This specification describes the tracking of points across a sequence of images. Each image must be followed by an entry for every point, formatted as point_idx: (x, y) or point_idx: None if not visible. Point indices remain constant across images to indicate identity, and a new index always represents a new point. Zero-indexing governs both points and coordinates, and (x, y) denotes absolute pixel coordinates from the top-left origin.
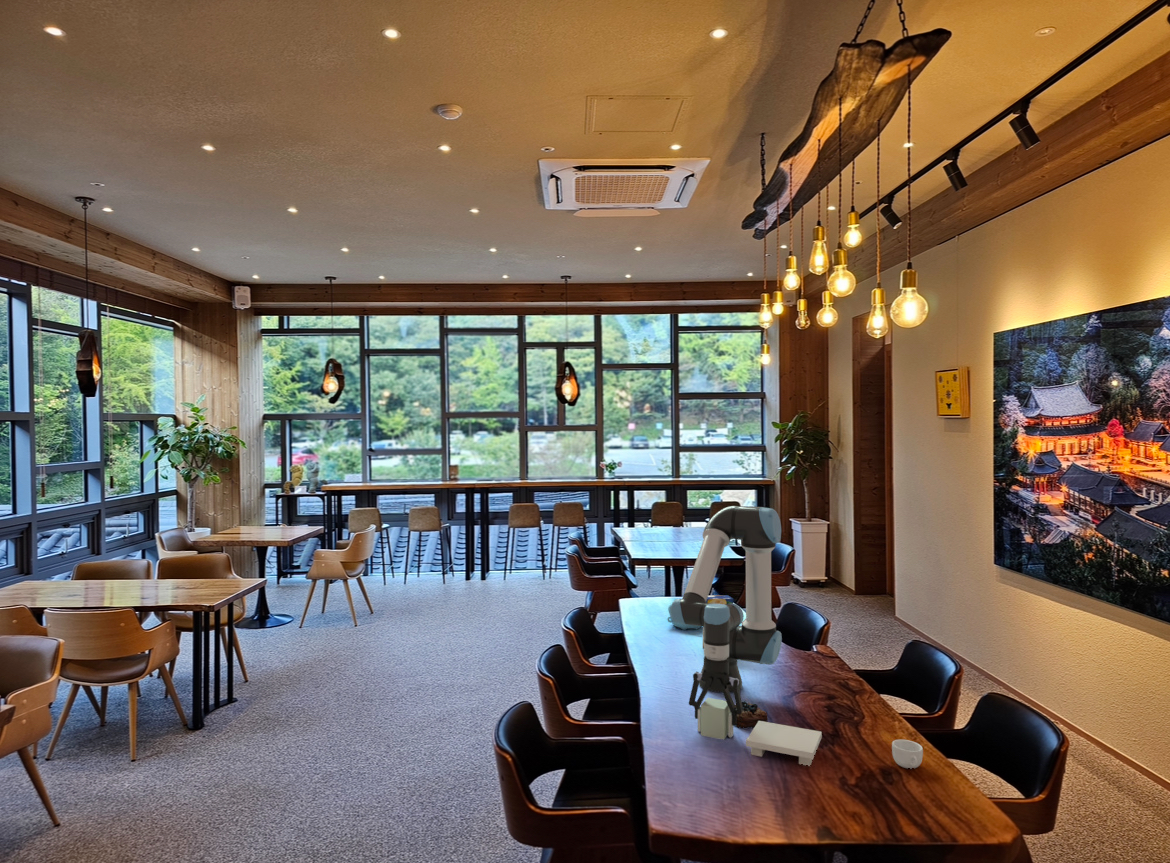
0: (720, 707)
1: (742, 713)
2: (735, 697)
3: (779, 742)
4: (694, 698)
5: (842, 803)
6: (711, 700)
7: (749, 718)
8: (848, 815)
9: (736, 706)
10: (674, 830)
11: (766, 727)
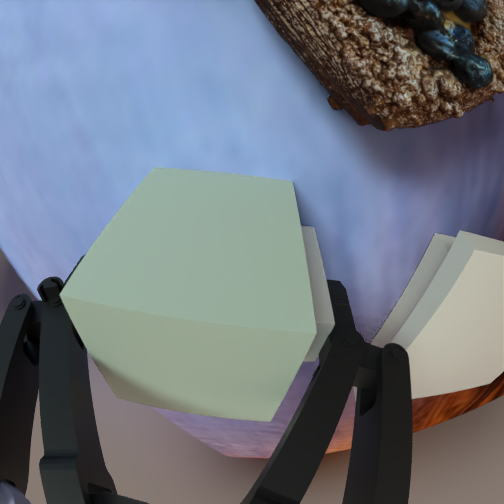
0: (241, 413)
1: (400, 108)
2: (354, 476)
3: (451, 380)
4: (22, 333)
5: (455, 400)
6: (122, 343)
7: (434, 120)
8: (445, 412)
9: (355, 417)
10: (243, 457)
11: (471, 311)
